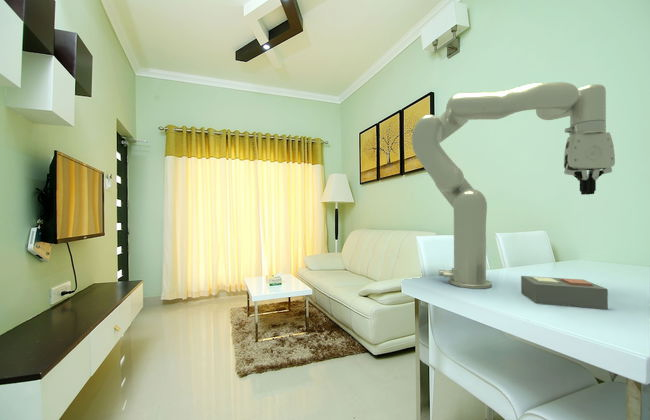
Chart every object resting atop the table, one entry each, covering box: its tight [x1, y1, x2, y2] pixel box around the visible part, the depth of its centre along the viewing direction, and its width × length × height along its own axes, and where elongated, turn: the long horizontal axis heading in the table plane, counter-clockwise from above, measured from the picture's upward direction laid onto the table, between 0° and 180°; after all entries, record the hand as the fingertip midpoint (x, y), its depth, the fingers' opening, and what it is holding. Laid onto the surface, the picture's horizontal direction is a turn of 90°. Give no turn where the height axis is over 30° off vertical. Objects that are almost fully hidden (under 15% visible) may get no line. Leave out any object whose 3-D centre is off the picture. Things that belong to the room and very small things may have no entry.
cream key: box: [532, 276, 559, 284], centre depth 77 cm, size 5×5×3 cm
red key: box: [560, 277, 592, 286], centre depth 74 cm, size 5×5×3 cm
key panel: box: [520, 275, 609, 310], centre depth 75 cm, size 15×10×5 cm, turn 73°
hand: (587, 194), depth 80 cm, fingers closed
